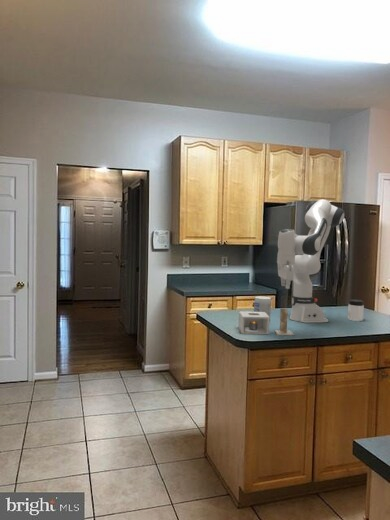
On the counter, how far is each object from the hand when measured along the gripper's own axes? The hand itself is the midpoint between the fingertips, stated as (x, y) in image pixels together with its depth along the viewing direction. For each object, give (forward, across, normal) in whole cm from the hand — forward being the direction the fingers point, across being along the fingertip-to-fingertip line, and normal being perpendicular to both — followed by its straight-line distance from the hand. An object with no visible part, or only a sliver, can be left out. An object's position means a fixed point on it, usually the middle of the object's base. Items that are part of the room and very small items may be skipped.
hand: (285, 287), depth 211 cm
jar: (+25, +39, -53) cm, 70 cm away
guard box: (+24, +5, +15) cm, 29 cm away
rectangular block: (+23, 0, +1) cm, 23 cm away
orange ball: (+23, +5, +15) cm, 28 cm away
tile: (+24, 0, 0) cm, 24 cm away
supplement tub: (+24, +25, +7) cm, 36 cm away
